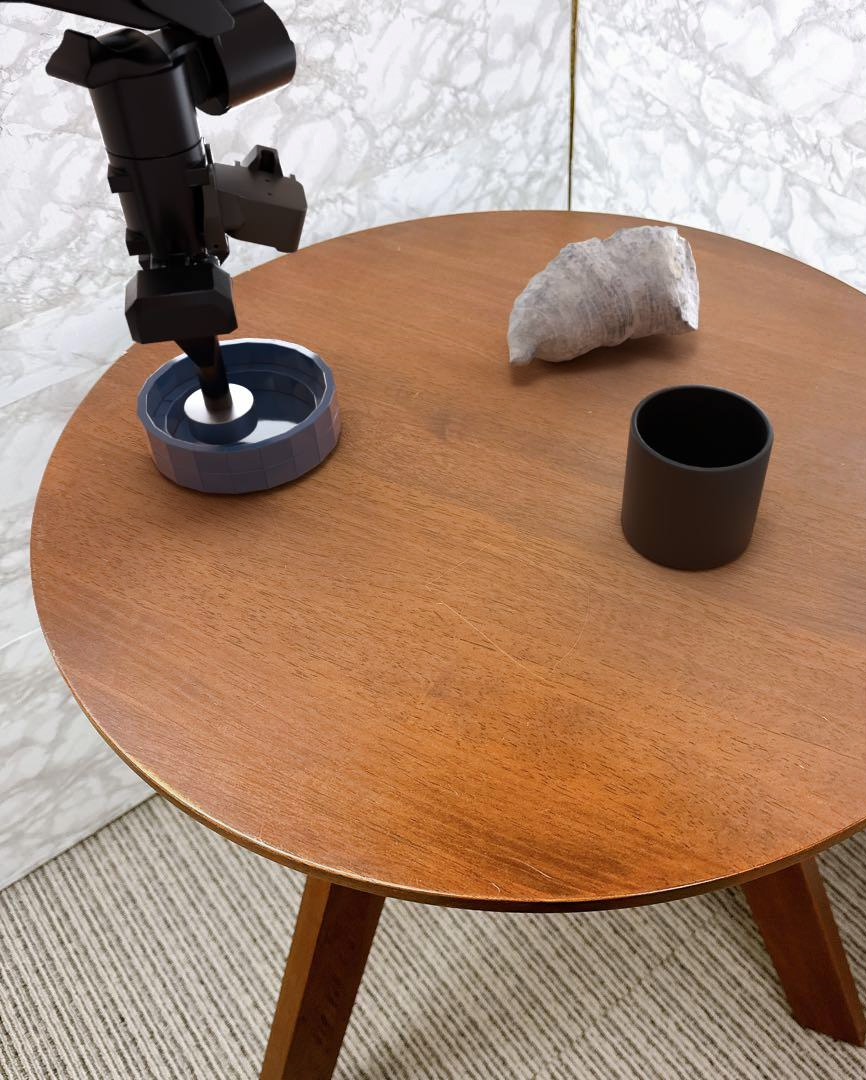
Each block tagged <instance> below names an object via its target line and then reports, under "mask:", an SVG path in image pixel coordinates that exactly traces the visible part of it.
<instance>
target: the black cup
mask: <svg viewBox="0 0 866 1080" xmlns="http://www.w3.org/2000/svg"><path fill="white" fill-rule="evenodd" d="M628 431H629V432H628V440H627V450H626V459H625V468H624V480H623V490H622V491H623V492H622V499H621V509H620V524H621V527H622V529H623V530H622V531H623V532H624V534H625V536H626V538H627V539H628V541H629V543H630V544H631V546H633V547H634V548H635V549H636V550H637V551H638V552H639V553H641V554H642V555H644V556H645V557H647V558H648V559H650V560H651V561H654V562H656V563H659V564H661V565H664V566H668V567H671V568H675V569H680V570H691V571H692V570H694V571H696V570H707V569H713V568H717V567H720V566H722V565H725V564H727V563H729V562H731V561H733V560H734V559H736V558H737V557H739V556H740V555H741V554H742V552H744V551H745V550H746V548H747V547H748V545H749V544H750V542H751V540H752V537H753V534H754V529H755V525H756V521H757V516H758V512H759V508H760V504H761V498H762V494H763V490H764V485H765V481H766V477H767V472H768V467H769V463H770V458H771V454H772V450H773V447H774V446H773V445H774V438H775V433H774V427H773V424H772V422H771V419H770V418H769V416H768V414H767V413H766V412H765V410H763V409H762V408H761V407H760V406H759V405H757V404H756V403H755V402H754V401H753V400H751V399H750V398H747V397H746V396H744V395H742V394H740V393H738V392H735V391H732V390H730V389H727V388H724V387H719V386H715V385H709V384H708V385H707V384H695V383H692V384H687V383H686V384H677V385H671V386H668V387H664V388H661V389H657V390H655V391H653V392H652V393H650V394H648V395H646V396H645V397H644V398H642V399H641V400H640V402H638V403H637V405H636V406H635V407H634V409H633V411H632V413H631V416H630V420H629V430H628Z"/></svg>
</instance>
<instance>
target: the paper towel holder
mask: <svg viewBox="0 0 866 1080" xmlns="http://www.w3.org/2000/svg"><path fill="white" fill-rule="evenodd" d="M219 341H220V340H219V335H216V336H215V365H214V366H213V367H209V368H199V367H197V365H196V364H195V363H194V364H195V368H196V372H197V376H198V380H199V384H200V388H201V389H200V390H198V391H196V392H194V393H193V394H192V395H191V396H190V397H189V398H188V399H187V400H186V402H185V405H184V411H185V415H186V418H187V422H188V426H189V429H190V432H191V435H192V436H193V437H194V438H195V439H196V440H198V441H200V442H202V443H205V444H210V445H226V444H231V443H235V442H237V441H240V440H242V439H244V438H246V437H247V436H249V435H250V434H251V433H252V432H253V431H254V430H255V428H256V427H257V424H258V417H257V413H256V408H255V403H254V399H253V396H252V394H251V392H250V391H249V390H247V389H246V388H244V387H242V386H239V385H235V384H229V383H228V378H227V374H226V370H225V365H224V361H223V357H222V352H221V348H220V344H219Z"/></svg>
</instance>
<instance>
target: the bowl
mask: <svg viewBox="0 0 866 1080" xmlns="http://www.w3.org/2000/svg"><path fill="white" fill-rule="evenodd" d="M219 344H220V348H221V352H222V357H223V361H224V365H225V370H226V374H227V378H228V383H229V384H235V385H239V386H242V387H244V388H246V389H247V390H249V391H250V392H251V394H252V396H253V399H254V403H255V408H256V413H257V417H258V424H257V427H256V428H255V430H254V431H253V432H252V433H251V434H250V435H249V436H247V437H246V438H244V439H242V440H240V441H237V442H235V443H231V444H226V445H210V444H205V443H202V442H200V441H198V440H196V439H195V438H194V437H193V436H192V435H191V432H190V429H189V426H188V422H187V418H186V415H185V411H184V405H185V402H186V400H187V399H188V398H189V397H190V396H191V395H192V394H193V393H194V392H196V391H198V390H200V389H201V388H200V384H199V380H198V376H197V372H196V368H195V364H194V362H193V361H192V360H191V359H190V358H189V357H188V356H187V355H186V354H185V352H183V353H181V354H180V355H178V356H175V357H174V358H171V359H169V360H168V361H166V362H164V363H163V364H162V365H161V366H160V367H158V369H157V370H155V371H154V372H153V373H152V374H151V375H150V376H148V378H146V380H145V382H144V384H143V386H142V387H141V389H140V391H139V392H138V394H137V397H136V398H137V399H136V415H137V419H138V422H139V425H140V428H141V431H142V434H143V438H144V441H145V444H146V447H147V450H148V453H149V456H150V458H151V459H152V461H153V463H154V465H155V467H156V468H157V470H158V471H159V472H160V473H161V474H163V476H165V477H167V478H168V479H170V480H171V481H173V482H174V483H175V484H177V485H178V486H181V487H184V488H188V489H192V490H196V491H199V492H202V493H209V494H210V493H211V494H231V495H232V494H233V495H235V494H237V495H238V494H245V493H250V492H251V493H252V492H256V491H257V492H258V491H264V490H268V489H272V488H274V487H278V486H280V485H283V484H286V483H288V482H291V481H294V480H297V479H299V478H300V477H302V476H303V475H304V474H306V473H308V472H309V471H310V470H313V469H314V468H315V467H317V466H319V465H320V464H321V463H322V462H323V461H325V459H326V458H327V457H328V455H329V454H330V453H331V452H332V450H334V448H335V447H336V445H337V443H338V439H339V436H340V432H341V429H342V422H341V421H342V420H341V415H340V414H341V413H340V408H339V401H338V394H337V387H336V382H335V376H334V373H333V369H331V367H330V366H329V365H328V364H327V363H326V362H325V360H324V359H323V358H322V357H321V356H320V355H319V354H317V353H315V352H313V351H312V350H309V349H308V348H306V347H305V346H302V345H301V344H297V343H292V342H289V341H284V340H282V339H281V340H280V339H274V338H271V339H270V338H257V337H256V338H254V337H245V338H244V337H243V338H236V339H227V340H219Z"/></svg>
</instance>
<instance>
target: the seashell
mask: <svg viewBox="0 0 866 1080" xmlns="http://www.w3.org/2000/svg"><path fill="white" fill-rule="evenodd" d="M678 230H679V229H678V227H676V226H670V225H666V226H662V227H660V226H658V225H653V226H652V225H647V224H646V225H643V226H638V227H637V226H636V227H631V228H628V227H627V228H619V229H617V230H616V231H615V232H614V233H612V235H611V236H609V237H607V238H605V239H604V240H603V241H602V239H600V238H598V237H596V236H593V237H591V238H587V239H586V240H584V241H577V242H570V243H568V244H566V246H563V247H562V248H561V249H560V252H559V253H558V254H557V255H556V256H555V257H554V258H553V259H552V260H549V261H548V263H547V264H546V266H545V269H543V270H541V271H539V272H537V273H536V274H535V275H533V276H532V277H531V278H529V280H528V283H527V285H526V286H525V288H524V289H523V290H522V292H521V293H520V294H519V295H517V296H516V298H515V300H514V304H513V306H512V309H511V313H510V314H509V319H508V331H507V334H506V343H507V345H508V349H509V360H508V361H509V364H510V367H511V366H512V367H526V366H527V365H529V364H530V363H531V362H532V360H533V359H534V358H535V359H541V360H544V361H546V362H554V363H560V362H565V361H571V360H573V359H575V358H577V357H579V356H581V355H584V354H586V353H588V352H590V351H592V350H593V349H596V348H600V347H611V348H612V347H614V346H618V345H621V344H622V343H623V342H625V341H626V340H627V339H631V340H635V339H636V340H637V339H641V338H644V337H650V336H651V335H660V334H662V335H665V336H667V335H672V336H681V335H685V334H689V333H692V332H695V331H698V329H699V319H700V317H699V308H700V301H701V299H700V283H699V280H698V275H697V265H696V261H695V258H694V255H693V253H692V246H691V244H690V243H689V241H688V240H687V239H686V238H685V237H681V235H680V234H679V233H678V232H679V231H678Z"/></svg>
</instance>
